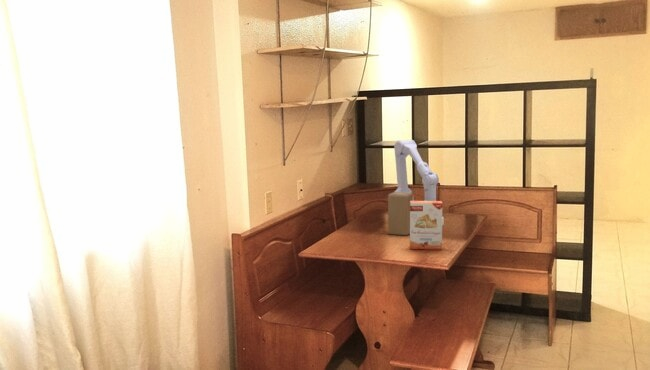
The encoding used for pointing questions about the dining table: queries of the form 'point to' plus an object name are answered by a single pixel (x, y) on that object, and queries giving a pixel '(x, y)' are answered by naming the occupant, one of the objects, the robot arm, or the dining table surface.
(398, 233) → the wooden block
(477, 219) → the dining table surface
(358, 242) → the dining table surface
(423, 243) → the cracker box
